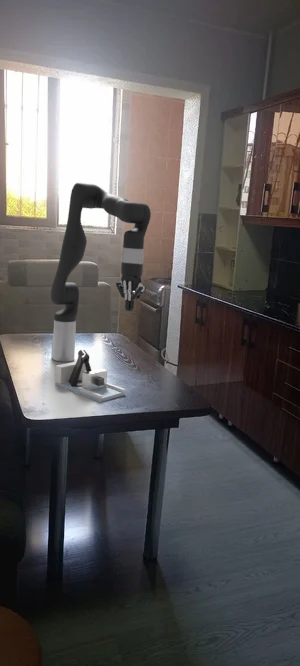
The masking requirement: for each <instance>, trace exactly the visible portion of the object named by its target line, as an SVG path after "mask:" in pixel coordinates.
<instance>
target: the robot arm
mask: <svg viewBox="0 0 300 666" xmlns="http://www.w3.org/2000/svg"><path fill="white" fill-rule="evenodd" d="M69 199H70V200H69V207H68V215H67V220H66V221H67V222H66V226H65V232H64V236H63V240H62V245H61V251H60V255H59V260H58V266H57V268H56V272H55V275H54V278H53V282H52V284H51V289H50V300H51V302H52V303H53V304H54V305H59V306H60V305H64V306H63V308H62V309H59V310H58V311H56V312H55V313H54V315H53V336H52V337H51V359H52V360H53V361H56V362H62V363H64V362H65V363H66V362H67V363H70V362H74V361H75V351H76V332H77V331H76V329H77V328H76V327H77V326H76V325H77V316H78V312H79V311H78V310H79V301H80V289H79V285H77V284H76V282H69V281H68V278H69V276H70V275H71V273H72V272H73V271H74V270H75V268H76V267H77V266H79V264H80V263H81V261H82V260H83V259H84V255H85V252H86V248H87V247H86V246H87V236H86V232H85V230H84V227H83V225H82V220H81V219H82V211H83V209H89V210H90V209H91V210H92V209H103V210H104V212H106V214H108V215H111V216H113V217H116V218H118V219H119V220H120V221H121V222H123V223H126V224H134V226H133V229H130V230H126V231H125V232H124V234H123V240H122V241H123V242H122V243H123V245H122V252H121V262H120V263H121V265H120V266H121V267H120V274H121V278H120V281H117V282H116V283H115V286H116V287H117V288H116V289H117V290H118V293H119V295H120V298H123V299H124V301H125V302H124V303H125V304H124V308H125V311H127V312H132V311H134V308H135V300H139V299H140V298H141V296H143V293H144V292H145V291H146V290H147V287H146V285H145V286H144V285H143V284H142V276H143V269H144V258H145V257H144V244H145V236H146V234H147V230H148V227H149V224H150V221H151V214H152V213H151V209H150V207H149V205H148V204H146V203H144V202H137V201H136V202H134V201H129V200H128V199H126V198H124V197H121V196H119V195H116V194H112V193H110V192H108V191H106V190H105V189H103V188H102V187H100V186H98V185H97V184H93V183H87V182H75V184H74V185H73V187H72V189H71V193H70V198H69ZM67 281H68V282H67Z"/></svg>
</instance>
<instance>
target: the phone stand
mask: <svg viewBox="0 0 300 666" xmlns="http://www.w3.org/2000/svg"><path fill="white" fill-rule="evenodd" d="M77 355H78V357H77V360H76V361H75V362H76V364H75V367H74V369H73V372H72V374H71V376H70V379H69V382H70V384H71V386H72V387H81V386H82V380H78V379H79V375H80V372H81V369H82V366H83V364H84V363H85V368H86V372H88V371H93V370H92V368H91V367H92V366H91V364H90V355H89V353H88V352H87V351H86V350H85V349H83V350H82V349H80V350H79V351H78V352H77Z"/></svg>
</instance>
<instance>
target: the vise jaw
mask: <svg viewBox="0 0 300 666" xmlns="http://www.w3.org/2000/svg"><path fill="white" fill-rule="evenodd" d="M107 379H108V370H107V369H104V368H97V369H93V370H92V371H88V372H83V376H82V388H84V389H87V390H90V391H91V390H95V389H99V388H103V387H106V384H107V383H108V382H107V381H108V380H107Z"/></svg>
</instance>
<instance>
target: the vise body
mask: <svg viewBox="0 0 300 666" xmlns="http://www.w3.org/2000/svg"><path fill="white" fill-rule="evenodd" d="M76 362H77V361H71V362H67V363H62V364H58V365H55V374H54V375H55V378H54V381H55V384H54V385H55V386H58V387H60V388H62V387H63V389H65V388H66V389H65V390H67V389H68V391H70V390H71V392H73V391H74V392H73V393H75V392H77V393H76V394H78V393H79V394H78V395H80V394H81V395H80V396H83V397H85V398H88V399H91V400H93V401H96V402H99V403H102V402H106V401H108V400H112V399H116V398H119V397H122V396H125V394H126V389H125V388H123V387H120V386H117V385H115V384H111V383H108V382H107V384H106V387H103V388H99V389H95V390H91V391H90V390H87V389H84V388H82V386H81V387H72V386H71V384H70V382H69V379H70V376H71V374H72V372H73V369H74V367H75V364H76ZM83 372H86V368H85V363H84V364H83V366H82V369H81V372H80V375H79V379H78V380H82V376H83Z"/></svg>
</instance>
